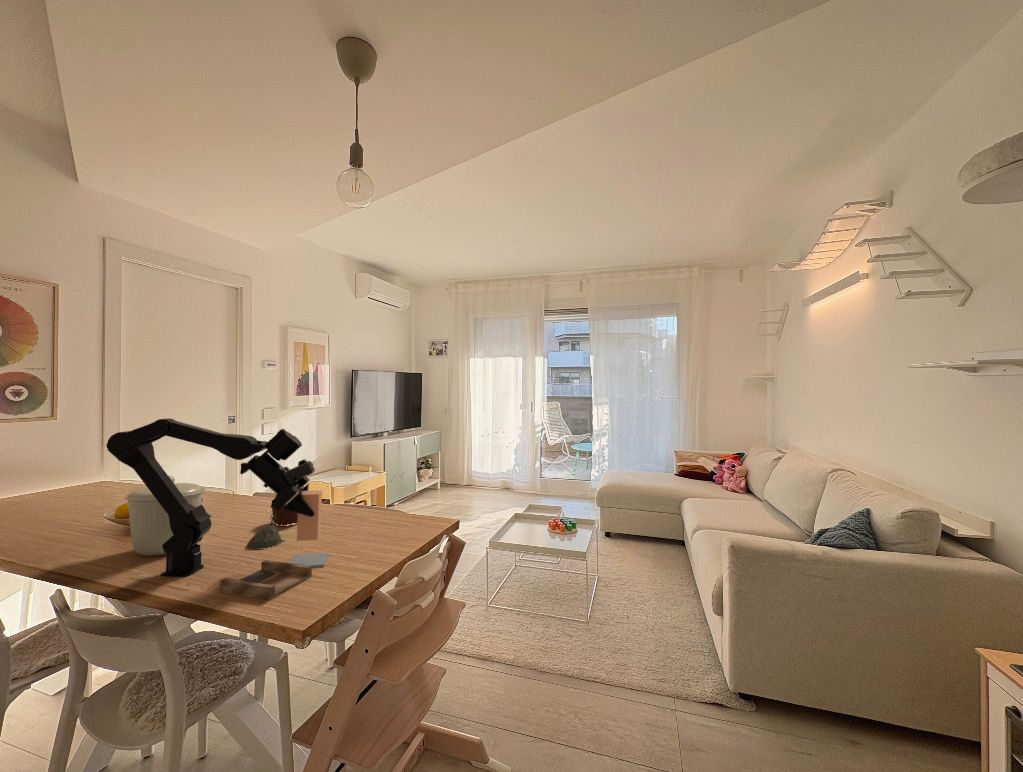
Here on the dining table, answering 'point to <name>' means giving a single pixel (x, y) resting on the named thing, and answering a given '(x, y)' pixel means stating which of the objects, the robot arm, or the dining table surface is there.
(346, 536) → the dining table surface
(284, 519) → the muffin
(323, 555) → the slate mat
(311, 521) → the terracotta block
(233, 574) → the dining table surface
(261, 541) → the sword in stone
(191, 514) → the robot arm
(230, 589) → the walnut channel
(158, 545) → the canister
